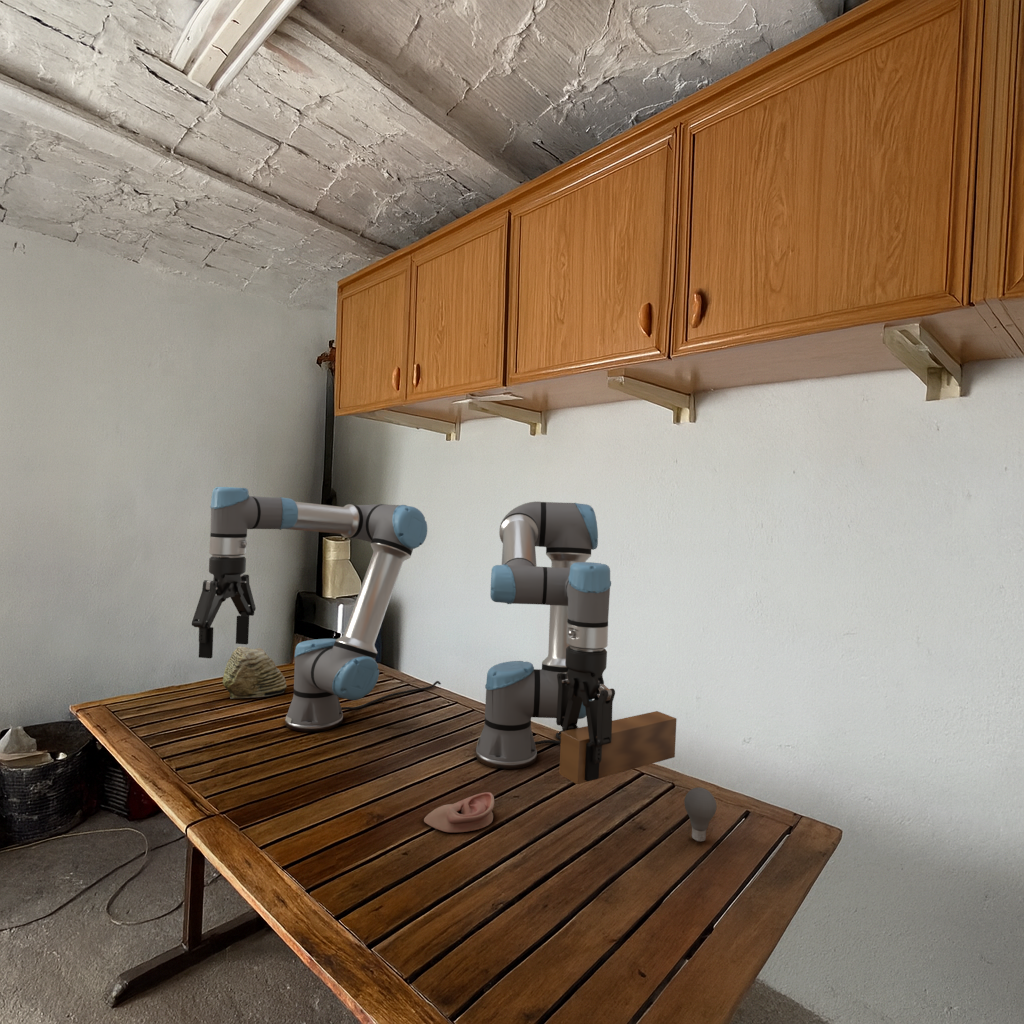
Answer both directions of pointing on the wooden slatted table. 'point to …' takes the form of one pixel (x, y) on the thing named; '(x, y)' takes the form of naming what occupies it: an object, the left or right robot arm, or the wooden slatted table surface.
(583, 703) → the right robot arm
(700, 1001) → the wooden slatted table surface
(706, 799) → the light bulb
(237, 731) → the wooden slatted table surface
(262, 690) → the fossil
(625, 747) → the bar
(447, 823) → the anatomical model
